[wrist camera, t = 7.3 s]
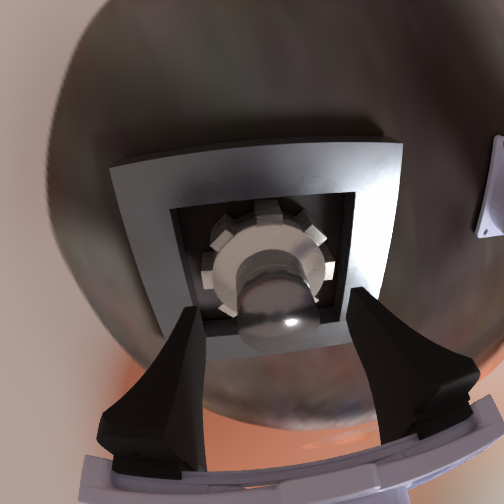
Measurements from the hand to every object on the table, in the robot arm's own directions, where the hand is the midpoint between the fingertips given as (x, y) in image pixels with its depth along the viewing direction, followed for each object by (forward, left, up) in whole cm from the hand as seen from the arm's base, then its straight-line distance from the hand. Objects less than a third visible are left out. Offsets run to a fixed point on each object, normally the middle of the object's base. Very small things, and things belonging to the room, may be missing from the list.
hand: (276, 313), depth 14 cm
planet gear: (0, 0, -4) cm, 4 cm away
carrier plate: (0, 0, -4) cm, 4 cm away
